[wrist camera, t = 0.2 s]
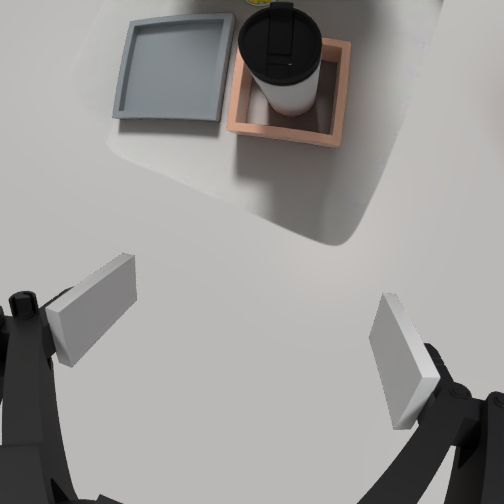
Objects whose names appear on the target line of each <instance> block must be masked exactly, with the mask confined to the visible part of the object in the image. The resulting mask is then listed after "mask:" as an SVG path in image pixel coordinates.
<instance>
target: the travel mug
mask: <svg viewBox="0 0 504 504" xmlns="http://www.w3.org/2000/svg"><path fill="white" fill-rule="evenodd" d="M238 48H239V52H240V55H241V57H242V59H243V61H244V62H245V64H246V65H247V67H248V69H249V71H250V73H251V74H252V76H253V77H254V79H255V80H256V82H257V84H258V85H259V87H260V88H261V90H262V92H263V93H264V95H265V96H266V98H267V100H268V101H269V103H270V105H271V106H272V107H273V109H274V110H275V111H277V112H278V113H280V114H282V115H284V116H289V117H296V116H300V115H303V114H305V113H306V112H308V111H309V110H310V109H311V108H312V106H313V105H314V102H315V98H316V92H317V85H318V78H319V71H320V64H321V56H322V55H321V51H322V36H321V33H320V30H319V28H318V26H317V24H316V23H315V22H314V21H313V20H312V18H311V17H309V16H308V15H307V14H305V13H304V12H302V11H300V10H298V9H295V8H293V3H290V2H270V7H268V8H265V9H262V10H260V11H258V12H256V13H255V14H253V15H252V16H251V17H249V18H248V19H247V20H246V22H245V23H244V25H243V26H242V28H241V30H240V33H239V38H238Z"/></svg>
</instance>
